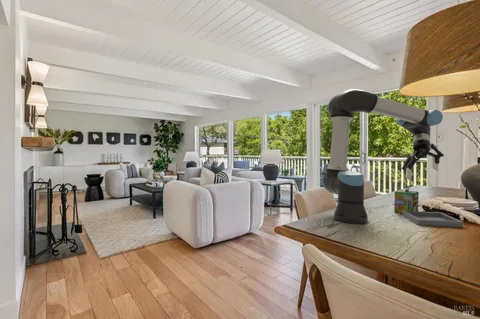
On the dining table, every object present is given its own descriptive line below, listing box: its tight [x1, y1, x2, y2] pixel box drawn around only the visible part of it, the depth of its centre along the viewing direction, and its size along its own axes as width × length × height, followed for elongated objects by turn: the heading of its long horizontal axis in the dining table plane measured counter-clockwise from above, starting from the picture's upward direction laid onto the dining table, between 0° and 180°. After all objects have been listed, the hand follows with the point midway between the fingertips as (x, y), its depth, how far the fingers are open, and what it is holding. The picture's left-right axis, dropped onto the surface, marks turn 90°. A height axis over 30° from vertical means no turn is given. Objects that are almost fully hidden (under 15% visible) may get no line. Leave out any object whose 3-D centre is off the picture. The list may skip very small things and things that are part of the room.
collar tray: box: [402, 211, 464, 228], centre depth 118 cm, size 17×17×2 cm
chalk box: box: [393, 185, 420, 214], centre depth 135 cm, size 9×9×15 cm
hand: (421, 174), depth 122 cm, fingers open, 13 cm apart
